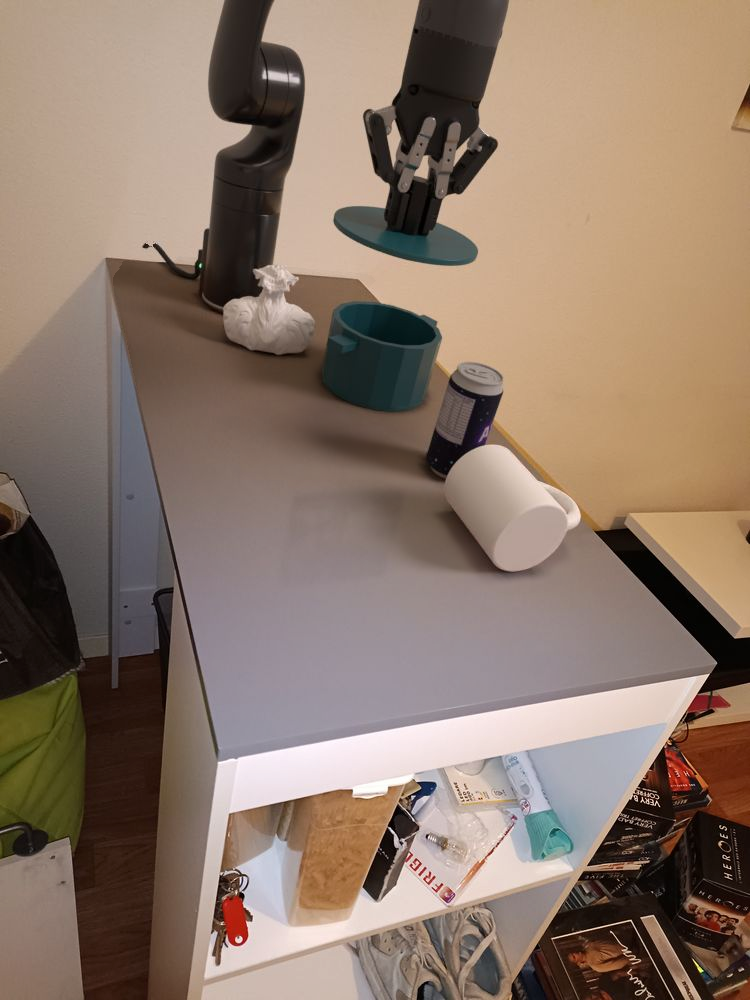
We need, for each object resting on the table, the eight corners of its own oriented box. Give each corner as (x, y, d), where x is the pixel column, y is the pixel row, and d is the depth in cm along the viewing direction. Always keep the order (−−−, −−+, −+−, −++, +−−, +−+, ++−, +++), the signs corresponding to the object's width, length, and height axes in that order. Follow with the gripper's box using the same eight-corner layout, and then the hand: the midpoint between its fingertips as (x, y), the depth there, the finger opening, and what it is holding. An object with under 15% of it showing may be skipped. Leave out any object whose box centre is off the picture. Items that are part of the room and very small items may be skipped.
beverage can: (471, 490, 79) (506, 391, 73) (420, 475, 79) (450, 375, 73) (475, 464, 84) (508, 369, 77) (427, 450, 84) (456, 354, 78)
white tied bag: (307, 366, 101) (318, 286, 101) (313, 353, 93) (325, 267, 94) (218, 351, 98) (230, 269, 99) (217, 336, 91) (230, 248, 92)
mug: (480, 576, 67) (508, 506, 63) (434, 510, 74) (456, 443, 70) (584, 565, 72) (616, 499, 68) (531, 505, 79) (557, 442, 75)
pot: (284, 377, 92) (294, 312, 87) (379, 350, 105) (393, 293, 100) (365, 427, 86) (381, 360, 81) (455, 392, 99) (473, 333, 94)
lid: (301, 221, 72) (312, 154, 69) (394, 214, 83) (408, 155, 79) (415, 279, 66) (434, 208, 62) (501, 264, 76) (522, 203, 73)
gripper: (506, 42, 69) (453, 227, 79) (369, 6, 64) (330, 209, 74) (544, 56, 64) (482, 253, 73) (398, 17, 58) (352, 235, 68)
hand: (406, 230), depth 73 cm, fingers closed on lid, 2 cm apart
